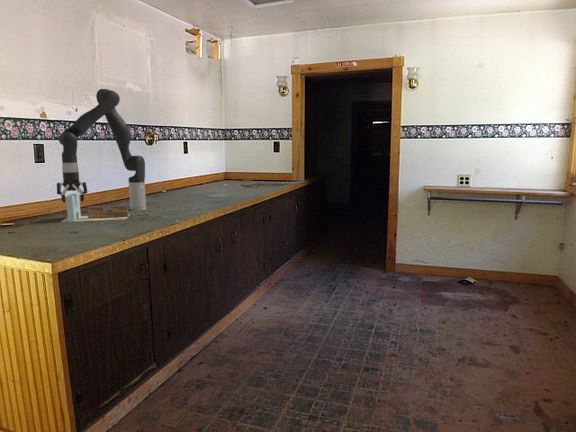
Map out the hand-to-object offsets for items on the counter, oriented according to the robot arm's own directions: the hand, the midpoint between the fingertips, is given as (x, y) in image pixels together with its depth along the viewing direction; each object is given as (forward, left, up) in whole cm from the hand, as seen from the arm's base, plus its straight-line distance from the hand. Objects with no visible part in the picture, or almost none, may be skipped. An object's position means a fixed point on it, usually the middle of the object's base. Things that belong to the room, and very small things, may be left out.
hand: (73, 202), depth 227 cm
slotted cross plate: (0, 0, -9) cm, 9 cm away
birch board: (0, +11, -10) cm, 15 cm away
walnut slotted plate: (0, +17, -9) cm, 19 cm away
